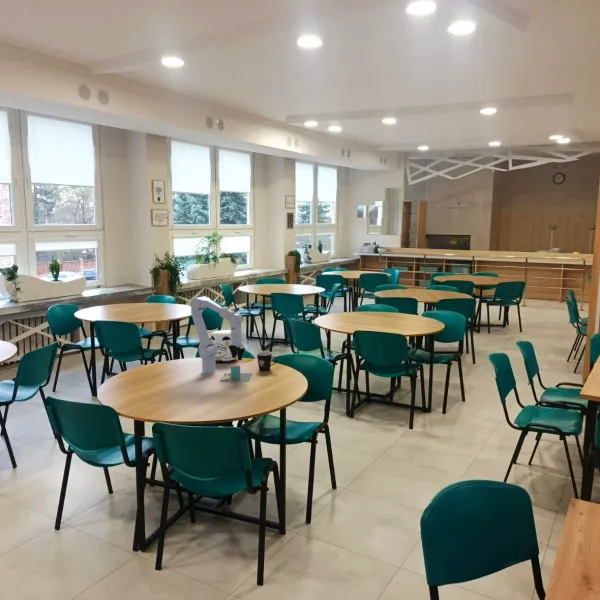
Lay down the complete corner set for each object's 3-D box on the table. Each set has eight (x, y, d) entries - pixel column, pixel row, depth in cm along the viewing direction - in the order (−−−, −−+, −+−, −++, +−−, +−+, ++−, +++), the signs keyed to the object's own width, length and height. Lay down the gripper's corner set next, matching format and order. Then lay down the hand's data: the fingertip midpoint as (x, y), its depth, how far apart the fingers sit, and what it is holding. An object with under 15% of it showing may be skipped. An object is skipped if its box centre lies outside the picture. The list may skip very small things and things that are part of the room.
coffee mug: (254, 370, 319) (253, 353, 318) (266, 367, 325) (265, 351, 323) (266, 374, 310) (266, 357, 309) (278, 371, 316) (277, 354, 315)
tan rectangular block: (231, 378, 302) (231, 365, 301) (240, 378, 302) (240, 365, 301) (231, 379, 300) (230, 366, 300) (240, 379, 300) (239, 366, 299)
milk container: (212, 365, 333) (211, 336, 331) (209, 358, 350) (208, 330, 347) (240, 362, 338) (239, 334, 335) (236, 356, 354) (235, 329, 352)
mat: (225, 373, 313) (225, 373, 313) (252, 373, 312) (252, 373, 312) (219, 382, 295) (219, 382, 295) (248, 382, 294) (248, 382, 294)
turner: (225, 373, 312) (225, 372, 311) (232, 373, 311) (232, 372, 311) (220, 380, 298) (220, 379, 298) (228, 380, 298) (228, 379, 297)
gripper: (224, 334, 308) (224, 357, 310) (235, 338, 296) (236, 362, 298) (235, 332, 312) (236, 355, 314) (247, 336, 300) (247, 360, 302)
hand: (237, 359), depth 306 cm, fingers open, 6 cm apart
